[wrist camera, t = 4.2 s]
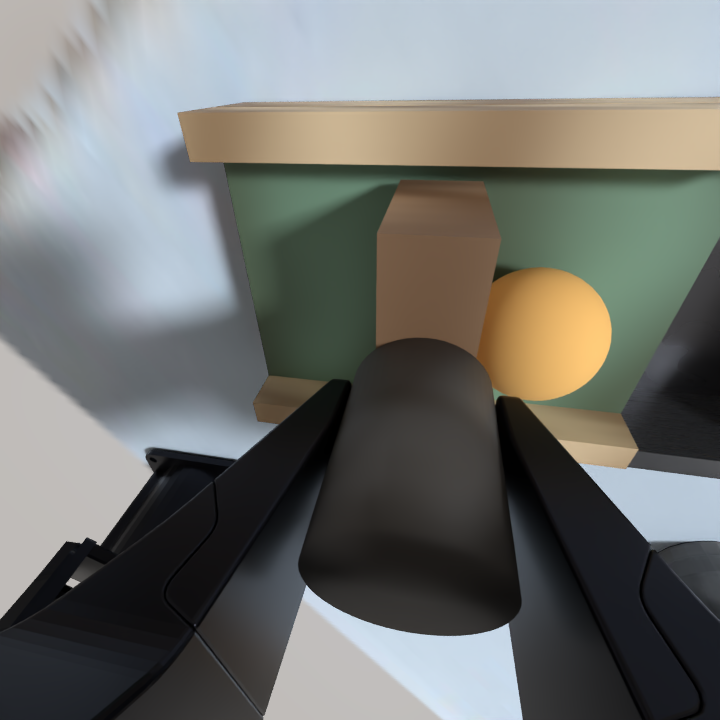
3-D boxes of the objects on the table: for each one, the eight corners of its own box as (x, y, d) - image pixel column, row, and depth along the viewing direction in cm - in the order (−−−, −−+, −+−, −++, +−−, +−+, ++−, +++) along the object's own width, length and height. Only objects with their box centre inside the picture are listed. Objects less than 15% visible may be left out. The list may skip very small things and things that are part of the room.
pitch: (288, 364, 17) (257, 421, 15) (244, 102, 11) (177, 112, 9) (593, 396, 15) (625, 468, 13) (736, 96, 9) (861, 108, 7)
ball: (448, 349, 13) (469, 428, 10) (464, 246, 10) (496, 310, 8) (555, 349, 12) (607, 429, 10) (592, 246, 10) (673, 309, 8)
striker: (378, 388, 14) (319, 651, 8) (380, 179, 10) (251, 385, 3) (462, 396, 13) (474, 686, 7) (504, 181, 9) (630, 428, 3)
